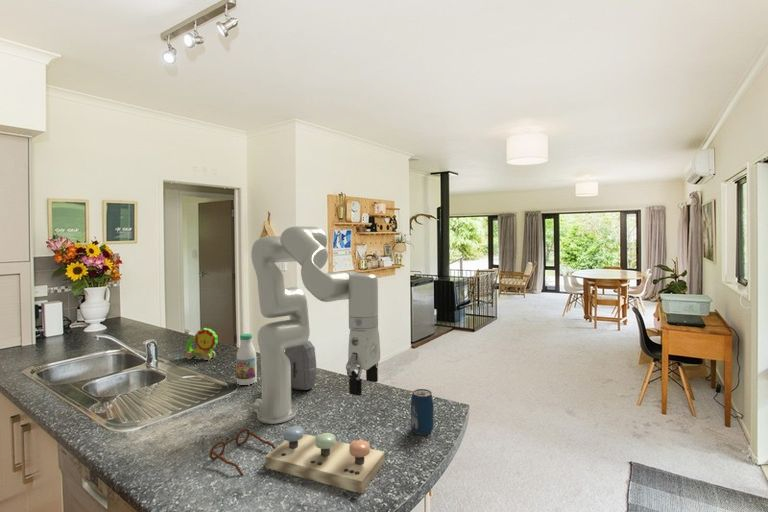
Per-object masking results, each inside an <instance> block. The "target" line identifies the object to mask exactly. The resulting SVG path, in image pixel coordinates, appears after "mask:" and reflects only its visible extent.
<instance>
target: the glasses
mask: <svg viewBox="0 0 768 512" xmlns="http://www.w3.org/2000/svg"><path fill="white" fill-rule="evenodd" d="M245 432H247V433H246V437H245V439H244V440H243V441H241V442H239V437H240V435H242V434H243V433H245ZM250 436H252V437H253V438H255V439H256V440H258V441H260V442H261V443H263V444H266V445H269V446H270V447H271V448H272V449H273V450H274V449H275V448H276V445H274V443H272V442H270V441H269V440H268V441H267V440H264V439H263V438H261V437H260V436H258V435H257V434H255V433H253V432H252V431H250V429H249V428H243V429H242V430H240V431H239V432H238V434H237V435H236V436H235V437H232V438H230V439H229V440H227V441H226V442H224V441H222V440H221V441H218V442H216V443H215V444H214V445H212V447H211V449H210V452H209V459H211V460H214V461H215V460H217V459H219V460H220V461H222V462H223V463H225V464H226V465H231V466H232V467H235V469H236V470H237V472H238V474H239V475H240V476H241V477H244V476H245V475H244V473H243V471H242V470H241V469H240V467H239V466H238V464H237V463H235V462H233V461H228V460H227V459H225V457H224V456H222V455H223V454H224V452H225V449H226V445H228V444H229V443H232V442H233V441H235V445H236V446H238V447H240V446H242V445H243V444H245V443H246V442H247V441H248V440H249V438H250ZM219 445H222V449H221V451H220V453H217V452H216V451H215V449H216V447H218V446H219ZM213 455H214V456H213Z"/></svg>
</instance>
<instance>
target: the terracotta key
mask: <svg viewBox="0 0 768 512" xmlns="http://www.w3.org/2000/svg"><path fill="white" fill-rule="evenodd" d="M349 444H350V445H349V453H350V454H351V455H352V456H354V457H364V456H367V455H368V454H369V453H370V449H371V444H370V443H369V441H367V440H363V439H357V440H354V441H351V442H350V443H349Z"/></svg>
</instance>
